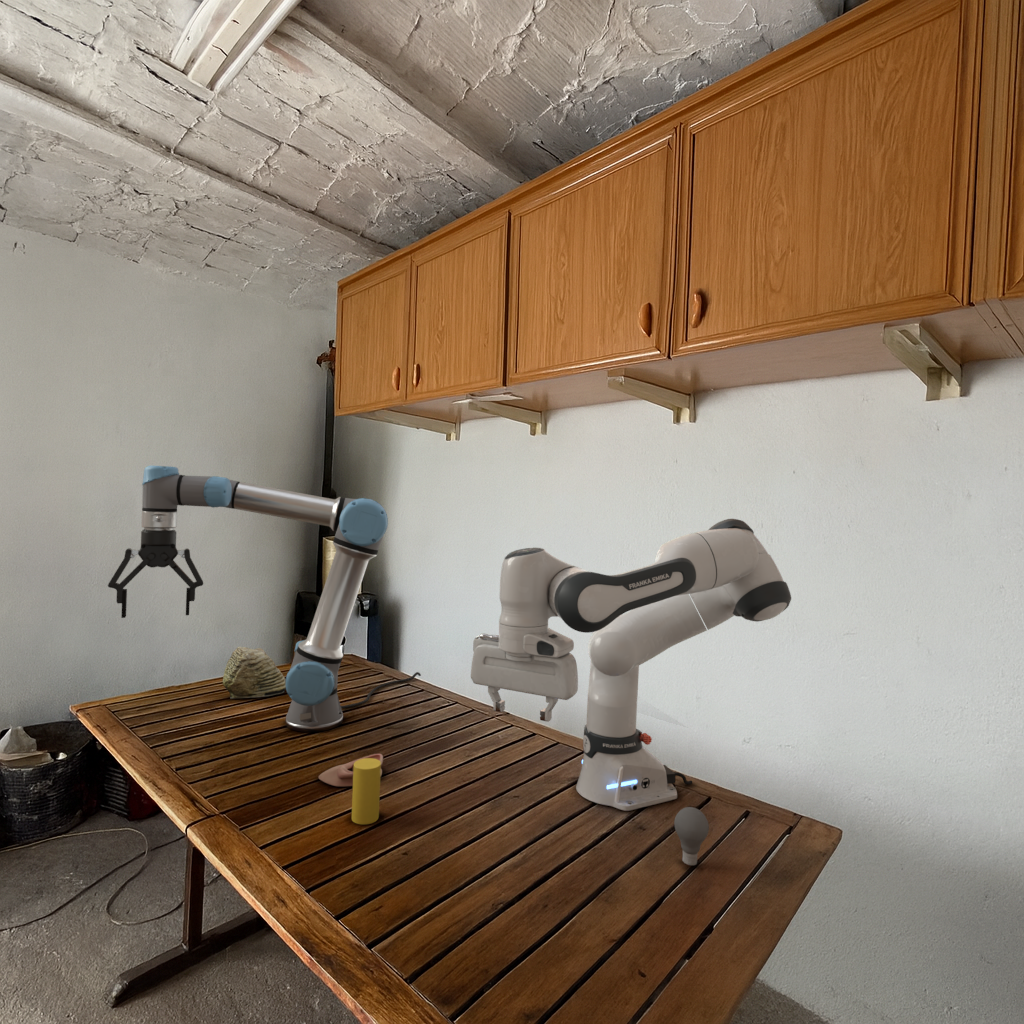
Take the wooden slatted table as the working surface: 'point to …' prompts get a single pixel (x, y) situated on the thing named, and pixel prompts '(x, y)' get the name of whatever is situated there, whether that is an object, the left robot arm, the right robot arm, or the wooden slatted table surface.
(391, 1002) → the wooden slatted table surface
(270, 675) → the fossil
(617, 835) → the wooden slatted table surface
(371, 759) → the cylinder
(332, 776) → the anatomical model
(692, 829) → the light bulb
